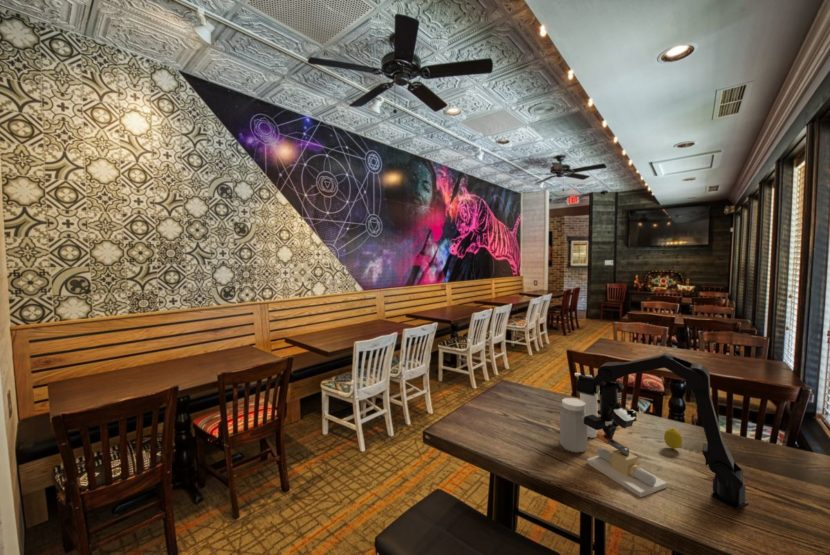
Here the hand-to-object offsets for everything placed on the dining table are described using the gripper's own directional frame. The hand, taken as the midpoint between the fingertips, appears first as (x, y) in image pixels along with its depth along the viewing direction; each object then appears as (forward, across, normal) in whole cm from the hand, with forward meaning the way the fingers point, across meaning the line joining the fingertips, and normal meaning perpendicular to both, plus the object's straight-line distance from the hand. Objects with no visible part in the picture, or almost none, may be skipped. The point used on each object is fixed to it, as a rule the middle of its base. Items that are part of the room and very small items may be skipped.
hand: (609, 440), depth 127 cm
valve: (+7, -3, -8) cm, 11 cm away
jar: (+7, -6, +12) cm, 15 cm away
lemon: (+8, +28, -4) cm, 29 cm away
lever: (0, -3, -4) cm, 4 cm away
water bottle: (+7, +7, +18) cm, 21 cm away
